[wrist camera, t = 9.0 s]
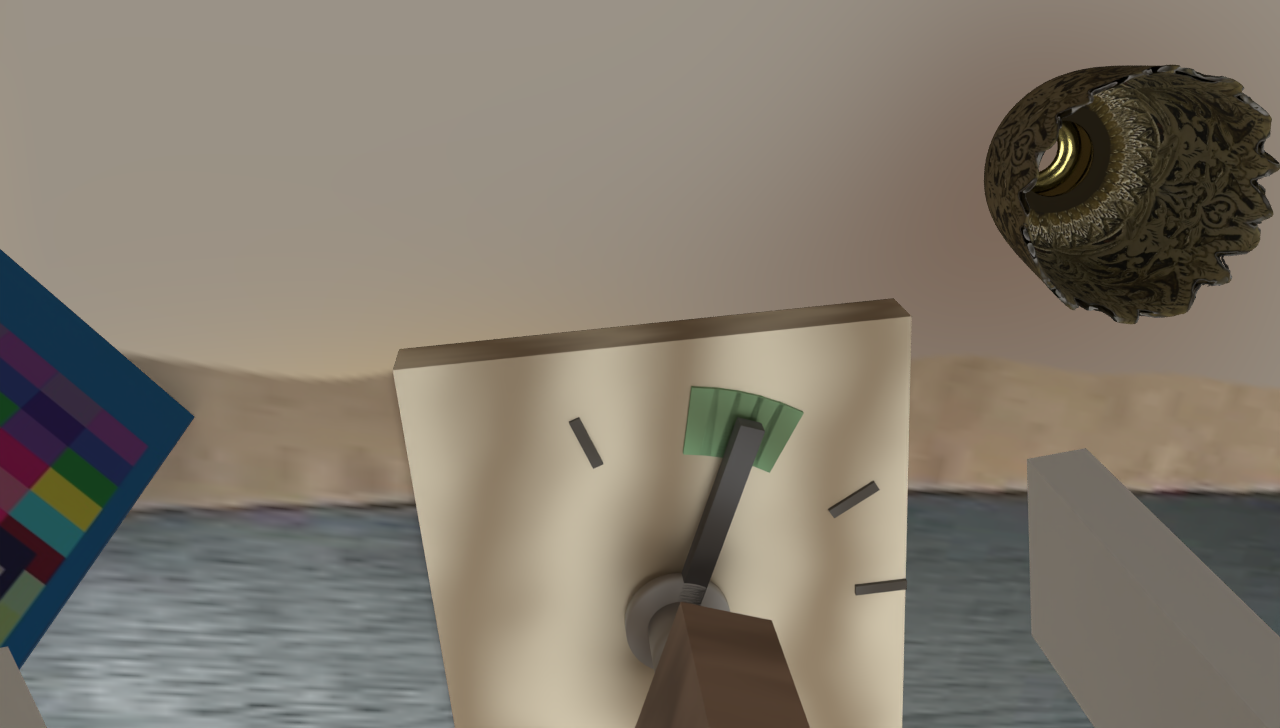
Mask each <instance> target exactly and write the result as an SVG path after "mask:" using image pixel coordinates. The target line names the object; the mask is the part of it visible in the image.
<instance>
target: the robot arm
mask: <svg viewBox="0 0 1280 728" xmlns="http://www.w3.org/2000/svg"><path fill="white" fill-rule="evenodd" d="M1027 479H1028V517H1029V555H1030V593H1031V631H1032V636H1033V638H1034V639H1035V641H1036V642H1037V643H1038V645H1039V646H1040V648H1041V649H1042V651H1043V652H1044V654H1045V655H1046V657H1047V658H1048V660H1049V661H1050V663H1051V664H1052V666H1053V667H1054V668H1055V670H1056V671H1057V673H1058V674H1059V676H1060V677H1061V679H1062V680H1063V682H1064V683H1065V685H1066V686H1067V688H1068V689H1069V691H1070V692H1071V693H1072V695H1073V696H1074V698H1075V699H1076V701H1077V702H1078V704H1079V705H1080V707H1081V708H1082V710H1083V711H1084V713H1085V714H1086V716H1087V717H1088V718H1089V720H1090V721H1091V723H1092V724H1093V726H1094V727H1095V728H1280V637H1279V636H1278V635H1277V634H1276V633H1275V632H1274V631H1273V630H1272V629H1271V628H1270V627H1269V626H1268V625H1267V624H1266V623H1265V622H1264V621H1263V620H1262V619H1261V618H1260V617H1258V616H1257V615H1256V614H1255V613H1254V612H1253V611H1252V610H1251V609H1250V608H1249V607H1248V606H1247V605H1246V604H1245V603H1244V602H1243V601H1242V600H1241V599H1240V598H1239V597H1238V596H1237V595H1236V594H1235V593H1234V592H1233V591H1232V590H1231V589H1230V588H1229V587H1228V586H1227V585H1226V584H1225V583H1224V582H1223V581H1222V580H1221V579H1219V578H1218V577H1217V576H1216V575H1215V574H1214V573H1213V572H1212V571H1211V570H1210V569H1209V568H1208V567H1207V566H1206V565H1205V564H1204V563H1203V562H1202V561H1201V560H1200V559H1199V558H1198V557H1197V556H1196V555H1195V554H1194V553H1193V552H1192V551H1191V550H1190V549H1189V548H1188V547H1187V546H1186V545H1185V544H1184V543H1183V542H1181V541H1180V540H1179V539H1178V538H1177V537H1176V536H1175V535H1174V534H1173V533H1172V532H1171V531H1170V530H1169V529H1168V528H1167V527H1166V526H1165V525H1164V524H1163V523H1162V522H1161V521H1160V520H1159V519H1158V518H1157V517H1156V516H1155V515H1154V514H1153V513H1152V512H1151V511H1150V510H1149V509H1148V508H1147V507H1146V506H1145V505H1144V504H1142V503H1141V502H1140V501H1139V500H1138V499H1137V498H1136V497H1135V496H1134V495H1133V494H1132V493H1131V492H1130V491H1129V490H1128V489H1127V488H1126V487H1125V486H1124V485H1123V484H1122V483H1121V482H1120V481H1119V480H1118V479H1117V478H1116V477H1115V476H1114V475H1113V474H1112V473H1111V472H1110V471H1109V470H1108V469H1107V468H1106V467H1105V466H1103V465H1102V464H1101V463H1100V462H1099V461H1098V460H1097V459H1096V458H1095V457H1094V456H1093V455H1092V454H1091V453H1090V452H1089V451H1088V450H1087V449H1086V448H1085V449H1080V450H1074V451H1069V452H1063V453H1058V454H1052V455H1047V456H1041V457H1036V458H1031V459H1027ZM0 728H47V727H46V725H45V723H44V721H43V719H42V717H41V714H40V712H39V710H38V708H37V706H36V704H35V702H34V700H33V698H32V696H31V694H30V692H29V690H28V687H27V685H26V683H25V681H24V679H23V677H22V675H21V673H20V671H19V669H18V667H17V665H16V663H15V660H14V658H13V656H12V654H11V652H10V650H9V648H8V647H2V648H0Z"/></svg>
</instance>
